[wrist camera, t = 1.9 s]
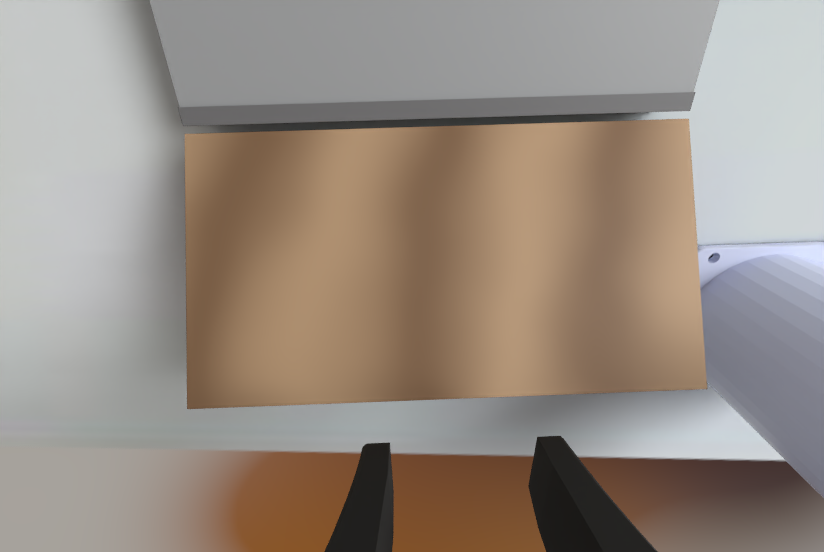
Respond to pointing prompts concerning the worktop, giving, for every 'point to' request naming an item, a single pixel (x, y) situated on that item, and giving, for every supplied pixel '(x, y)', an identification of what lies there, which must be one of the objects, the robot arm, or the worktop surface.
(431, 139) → the tan flat block
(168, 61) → the floor board
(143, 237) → the worktop surface
